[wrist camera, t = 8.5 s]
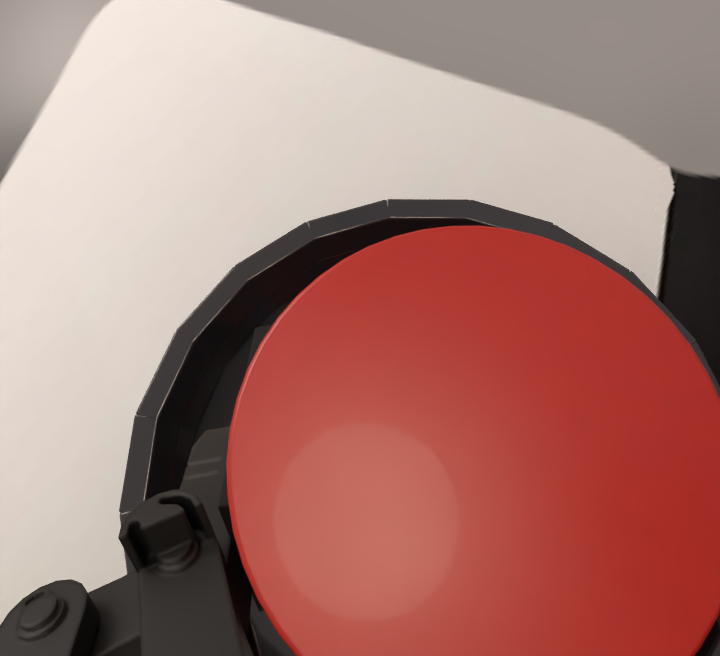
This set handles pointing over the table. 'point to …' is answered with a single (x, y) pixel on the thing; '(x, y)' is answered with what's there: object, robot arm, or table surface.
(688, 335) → the pan
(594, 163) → the table surface
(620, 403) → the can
